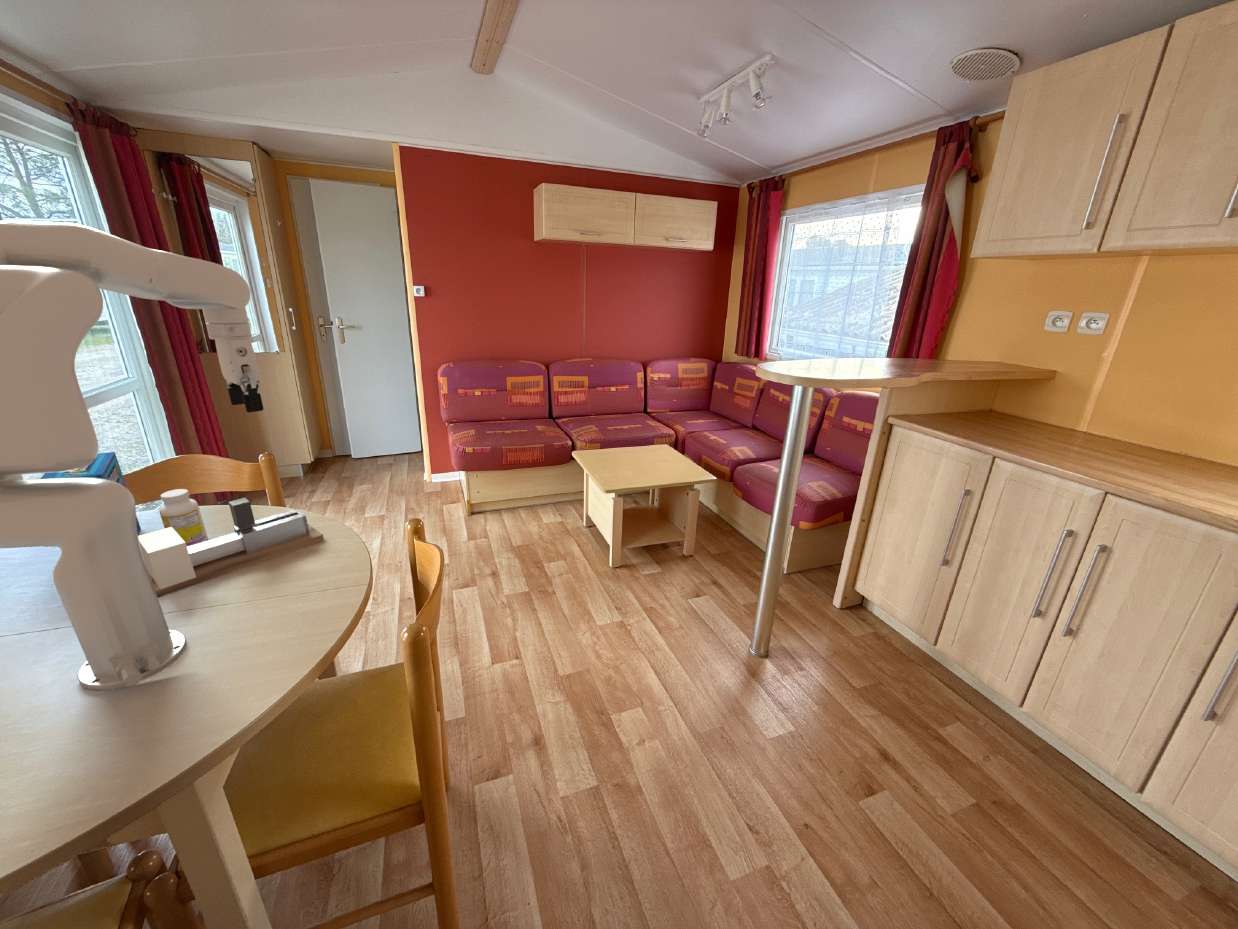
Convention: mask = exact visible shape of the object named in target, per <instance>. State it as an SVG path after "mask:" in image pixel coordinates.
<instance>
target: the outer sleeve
mask: <svg viewBox="0 0 1238 929" xmlns="http://www.w3.org/2000/svg"><path fill="white" fill-rule="evenodd" d="M254 521H255V524H254V525H252V528H251V529H248V530H244V531H241V532H240V529H239V528H238V527H236V526H235V525H234V526H233V530H234V533H236V532H237V533H238V532H239V533H240V535H241V536H242V538H243V542H244V546H245V550H243V551H244V552H245V553H246V554H247V555H250V554H253V553H256V552H259V551H262V550H265V549H268V548H271V547H274V546H277V545H280V544H283V543H286V542H289V541H292V540H295V539H298V538H301V537H304V536H307V535H310V533H309V529H308V524H309V523H308V519H307V516H306V515H305V514H304V513H303V512H301V511H300V510H298V509H297V508H293V509H291V510H288V511H284V512H280V513H277V514H273V515H270V516H267V517H264V518H260V519H257V520H256V519H255V520H254Z"/></svg>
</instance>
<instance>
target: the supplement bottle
mask: <svg viewBox="0 0 1238 929" xmlns="http://www.w3.org/2000/svg"><path fill="white" fill-rule="evenodd" d="M160 499H161V501H162V502H163V504H162V505H161V506H160V507H159V510H158V512H159V515H160V519H161V521H162V524H163V527H164V528H163V529H165V528H169V527H172V528H173V529H174V530H175V531H176V532H177V533H178V535H179V536H180V537H181V538H182V539H183V540H184V541H185V543H186V546H187V547H189V546H192V545H195V544H199V543H202V542H205V541H208V535H207V530H206V527H205V523H204V520H203V517H202V513H201V510H200V507H199V503H198V502H197V501H196V500H195V499H193V498H190V492H189V490H188V489H185V488H176V489H172V490H168V491H165V492H163V493H162V494H160Z"/></svg>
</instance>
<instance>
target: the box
mask: <svg viewBox="0 0 1238 929" xmlns="http://www.w3.org/2000/svg"><path fill="white" fill-rule="evenodd" d="M49 478H100V479H107V480H111V481H114V482H117V483H119V484H121V485H123V486H124V487H126V488H127V489H128V487H127V484H126V481H125V478H124V475H123V472H122V468H121V466H120V463H119V460H118V458H117V455H116V451H109V452H98V455H97V457H96V459H95V460H94V461H93V462H92V463H91V464H90V465H88V466H86V467H84V468H81V469H77V470H73V471H67V472H56V473H43V475H42V476H41V477H40V478H39V479H49ZM136 525H137V534H138V536H139V535H141V531H142V529H141V525H140V522H139V519H138V516H137V515H136Z"/></svg>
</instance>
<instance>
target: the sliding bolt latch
mask: <svg viewBox="0 0 1238 929" xmlns="http://www.w3.org/2000/svg"><path fill="white" fill-rule="evenodd" d="M228 506H229V508H230V509H229V510H230V513H231V517H232V520H233V524H234V527H235V526H236V527H238V528H239V529H240V532H241V531H244V530H248V529H251V528H252V525H254V524H255V521H256V520H255V518H254V513H253V509H252V506H251V501H250V500H248V499H247V498H246V497H242V498H238V499H234V500H232V501H228ZM187 549H188V552H189V556H190V559H191V562H192V565H193V566H196V565H199V564H202V563H205V562H209V561H212V560H215V559H218V558H221V557H224V556H227V555H230V554H233V553H236V552H239V551H243V550H245V546H244V542H243V538H242V536H241V535H240V533H239V532H238V533H237V532H236V533H235V532H232V533H230V534H227V535H223V536H219V537H217V538H213V539H209V540H206V541H205V542H202V543H199V544H195V545H192V546H189V547H187Z"/></svg>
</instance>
